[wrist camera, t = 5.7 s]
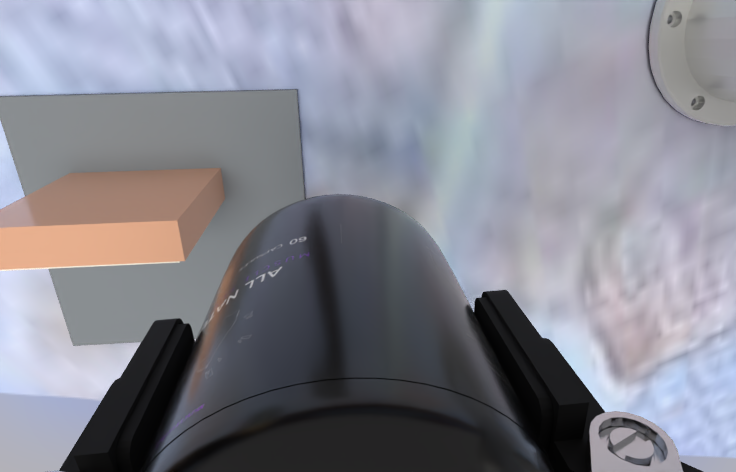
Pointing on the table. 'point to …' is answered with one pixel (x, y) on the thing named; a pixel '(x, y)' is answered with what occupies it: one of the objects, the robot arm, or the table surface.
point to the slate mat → (159, 152)
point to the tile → (110, 219)
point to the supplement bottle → (343, 358)
